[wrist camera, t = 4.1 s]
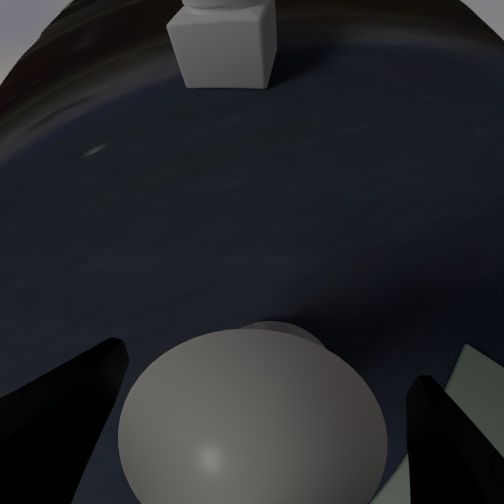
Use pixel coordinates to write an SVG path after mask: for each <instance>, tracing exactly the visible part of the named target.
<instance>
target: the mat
mask: <svg viewBox="0 0 504 504" xmlns="http://www.w3.org/2000/svg"><path fill="white" fill-rule="evenodd" d="M444 391H445V392H446V393H447V394H448V395H449V396H450V397H451V398H452V399H453V400H454V401H455V403H456V404H457V405H458V406H459V407H460V408H461V409H462V410H463V411H464V413H465V414H466V415H467V416H468V417H469V418H470V419H471V420H472V422H473V423H474V424H475V425H476V426H477V427H478V428H479V429H480V431H481V432H482V433H483V434H484V435H485V436H486V437H487V439H488V440H489V441H490V442H491V443H492V444H493V446H494V448H496V449H497V450H498V451H499V453H500V454H501V455H502V456H503V457H504V368H503V367H502V366H500V365H499V364H497V363H495V362H494V361H492V360H491V359H489V358H488V357H486V356H485V355H483V354H482V353H480V352H479V351H477V350H475V349H474V348H472V347H471V346H469V345H468V344H464V347H463V349H462V352H461V354H460V356H459V359H458V361H457V364H456V366H455V368H454V370H453V373H452V375H451V377H450V379H449V381H448V383H447V385H446V388H445V390H444ZM370 504H410V478H409V462H408V454H407V455H406V457H405V458H404V460H403V461H402V463H401V464H400V465H399V467H398V468H397V470H396V471H395V472H394V474H393V475H392V476H391V478H390V479H389V480H388V482H387V483H386V484H385V486H384V487H383V488H382V489H381V491H380V492H379V493H378V494H377V496H376V497H375V498H374V499H373V500H372V502H371V503H370Z"/></svg>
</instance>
